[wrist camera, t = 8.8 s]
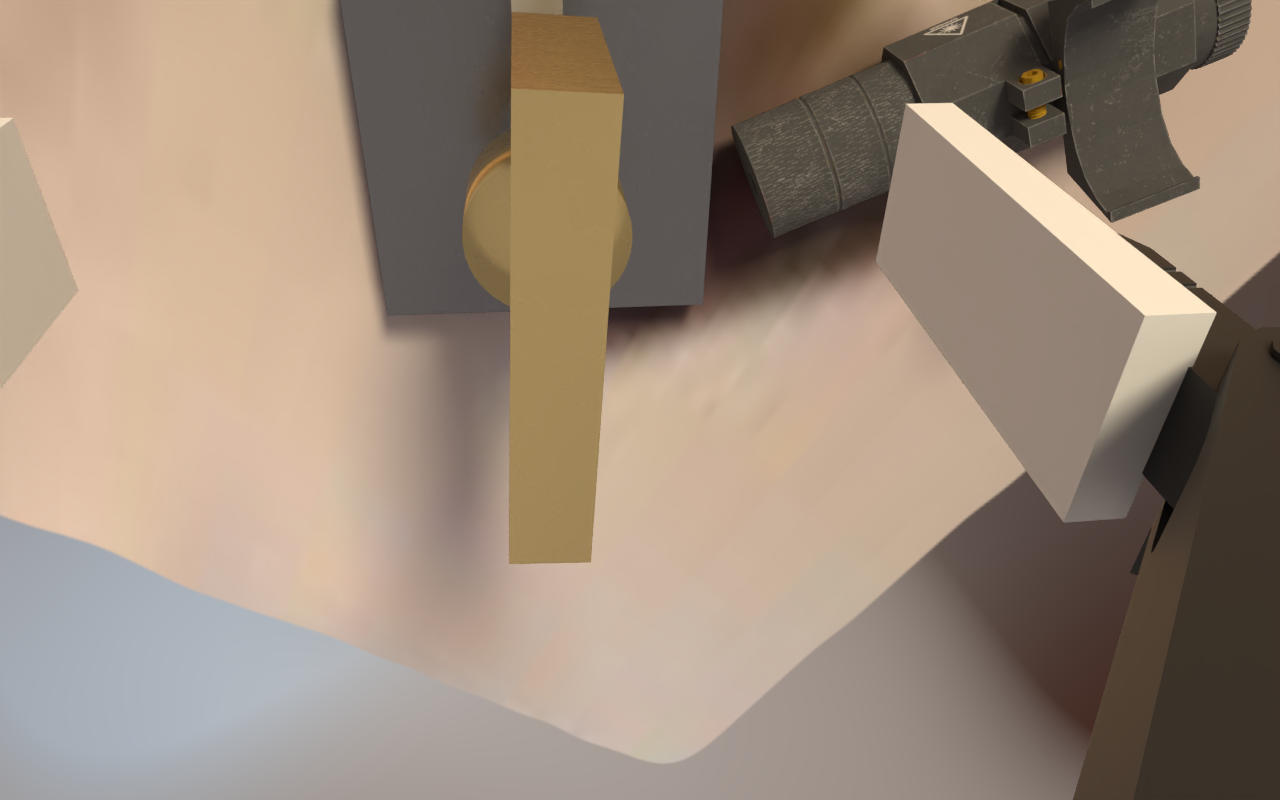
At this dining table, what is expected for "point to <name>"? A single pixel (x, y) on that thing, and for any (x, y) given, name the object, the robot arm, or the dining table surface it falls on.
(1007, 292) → the robot arm
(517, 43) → the lever handle
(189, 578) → the dining table surface
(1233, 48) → the laser sight
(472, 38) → the post base
